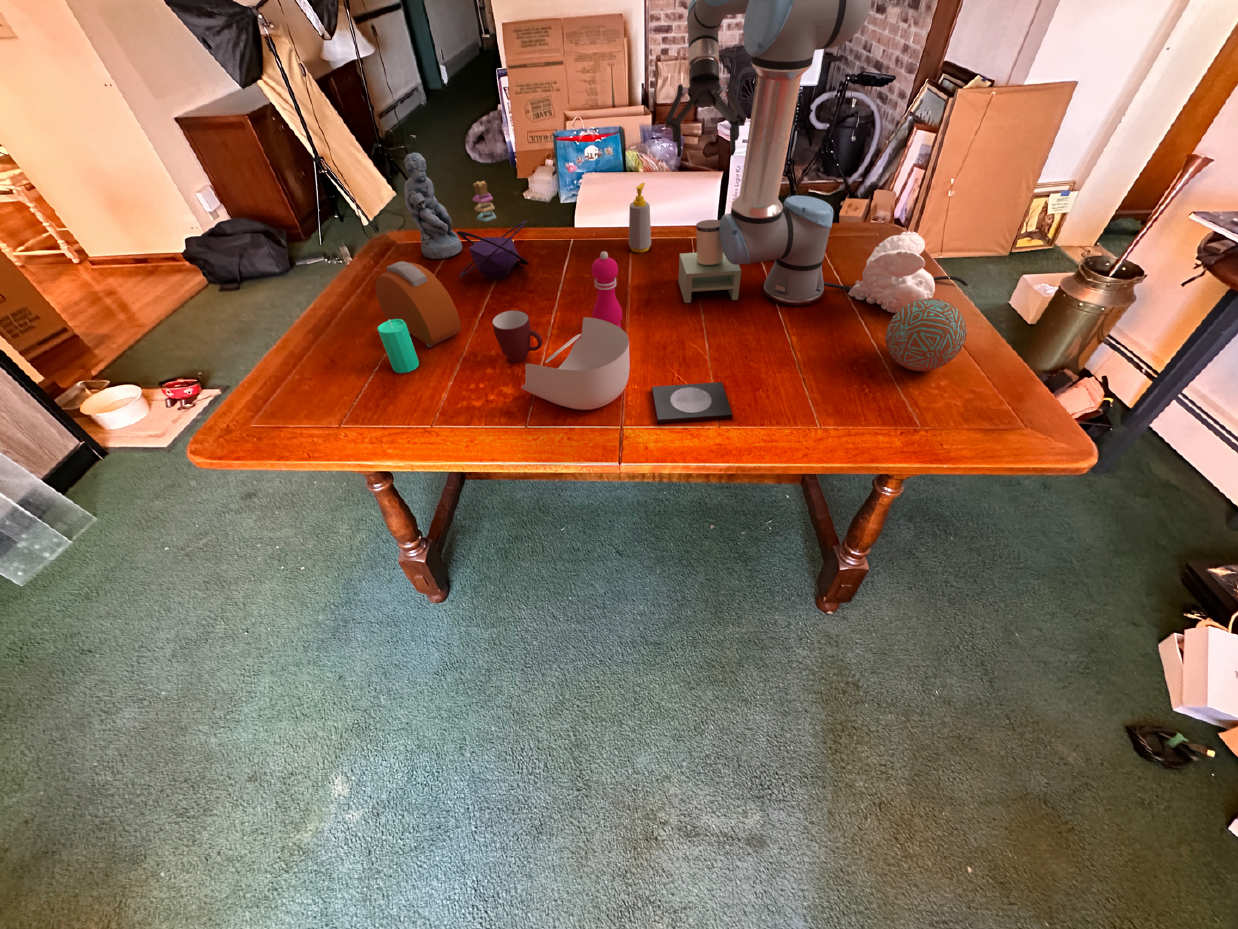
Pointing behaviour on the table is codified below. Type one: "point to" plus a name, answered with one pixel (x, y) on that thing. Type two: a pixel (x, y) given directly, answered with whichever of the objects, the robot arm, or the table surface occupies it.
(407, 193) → the statue
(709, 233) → the jar
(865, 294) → the white lumpy figure
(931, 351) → the decorative sphere
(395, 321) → the candle
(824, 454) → the table surface
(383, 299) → the alarm clock
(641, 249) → the soap bottle
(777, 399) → the table surface
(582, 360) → the white curved piece
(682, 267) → the small table
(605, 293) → the pepper mill
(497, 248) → the purple faceted sculpture
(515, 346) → the mug
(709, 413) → the hob plate
